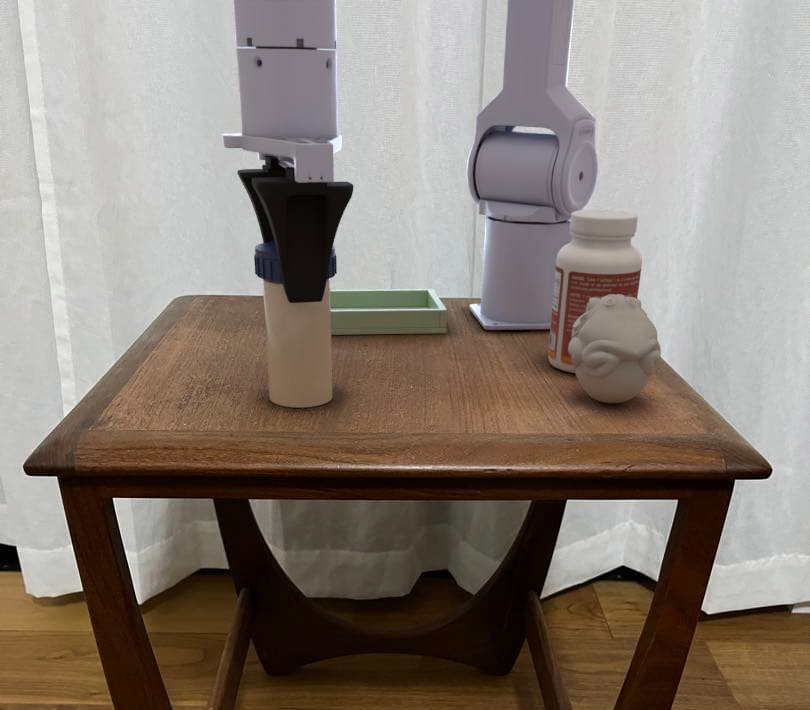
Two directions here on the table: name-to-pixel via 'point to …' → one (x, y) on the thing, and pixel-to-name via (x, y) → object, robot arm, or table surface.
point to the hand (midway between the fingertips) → (296, 291)
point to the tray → (387, 312)
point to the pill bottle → (591, 272)
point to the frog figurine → (614, 348)
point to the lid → (269, 262)
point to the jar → (298, 348)
